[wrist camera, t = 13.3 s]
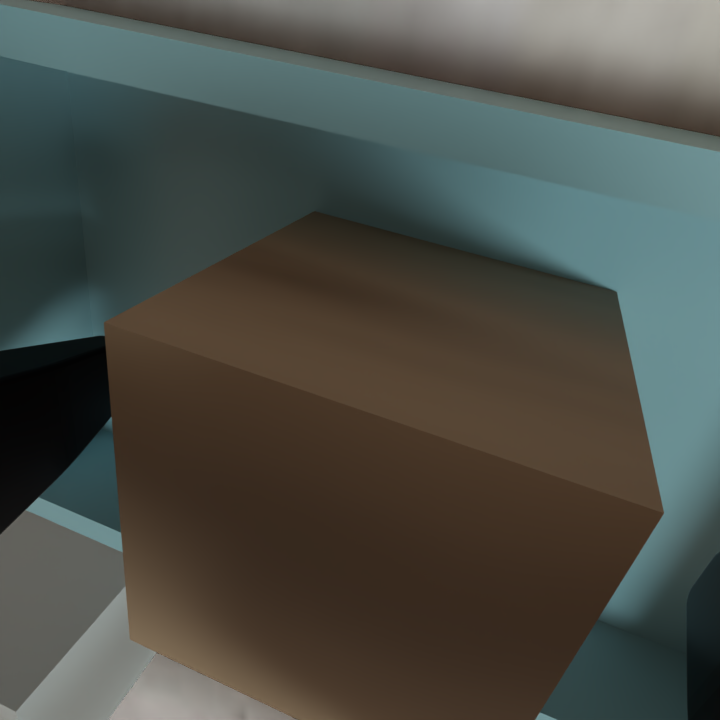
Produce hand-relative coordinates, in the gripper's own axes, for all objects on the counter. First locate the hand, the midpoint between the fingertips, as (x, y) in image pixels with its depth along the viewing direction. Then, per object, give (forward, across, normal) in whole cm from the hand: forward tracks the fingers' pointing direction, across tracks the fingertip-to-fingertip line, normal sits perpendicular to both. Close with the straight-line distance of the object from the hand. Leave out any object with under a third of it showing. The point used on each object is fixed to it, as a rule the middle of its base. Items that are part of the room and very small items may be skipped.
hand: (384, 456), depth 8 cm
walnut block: (+2, 0, 0) cm, 2 cm away
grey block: (+3, +9, +12) cm, 15 cm away
